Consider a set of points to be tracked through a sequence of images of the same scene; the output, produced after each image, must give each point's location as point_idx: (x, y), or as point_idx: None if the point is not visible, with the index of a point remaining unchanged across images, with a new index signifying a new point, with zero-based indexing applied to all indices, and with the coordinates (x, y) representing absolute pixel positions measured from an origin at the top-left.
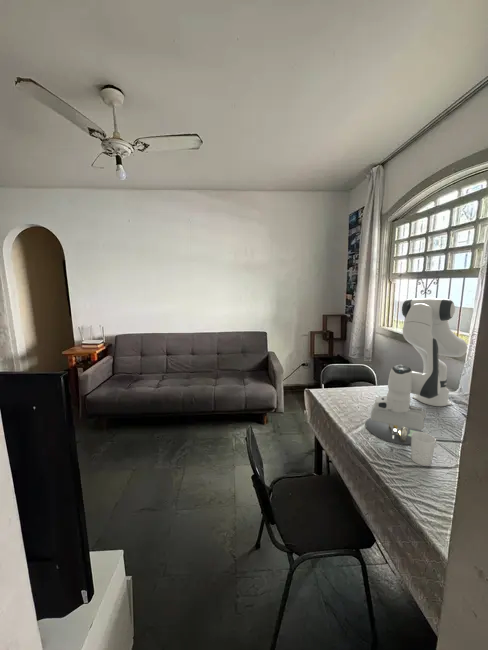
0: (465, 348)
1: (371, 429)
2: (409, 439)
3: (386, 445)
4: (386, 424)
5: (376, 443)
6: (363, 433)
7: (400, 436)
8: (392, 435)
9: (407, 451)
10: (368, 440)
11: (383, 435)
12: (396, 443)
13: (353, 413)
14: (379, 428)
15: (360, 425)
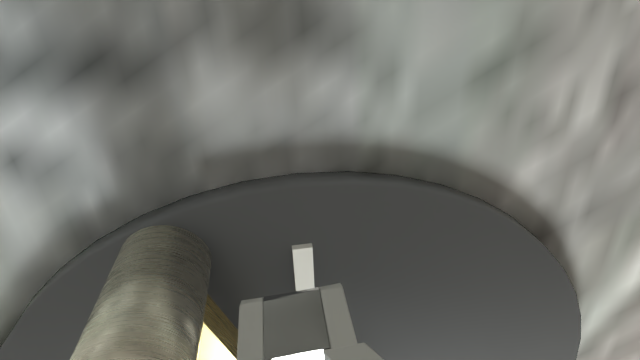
0: None
1: (545, 293)
2: None
3: (374, 47)
4: None
5: (518, 18)
6: (635, 184)
7: (196, 296)
8: None
9: (42, 48)
10: (620, 41)
11: (421, 251)
12: (246, 182)
13: None
14: (453, 353)
15: (619, 311)
